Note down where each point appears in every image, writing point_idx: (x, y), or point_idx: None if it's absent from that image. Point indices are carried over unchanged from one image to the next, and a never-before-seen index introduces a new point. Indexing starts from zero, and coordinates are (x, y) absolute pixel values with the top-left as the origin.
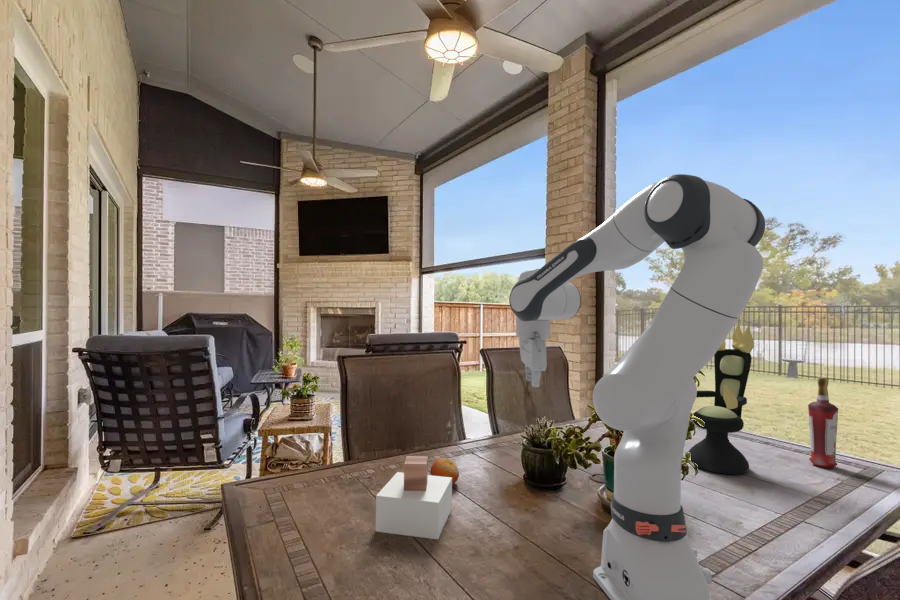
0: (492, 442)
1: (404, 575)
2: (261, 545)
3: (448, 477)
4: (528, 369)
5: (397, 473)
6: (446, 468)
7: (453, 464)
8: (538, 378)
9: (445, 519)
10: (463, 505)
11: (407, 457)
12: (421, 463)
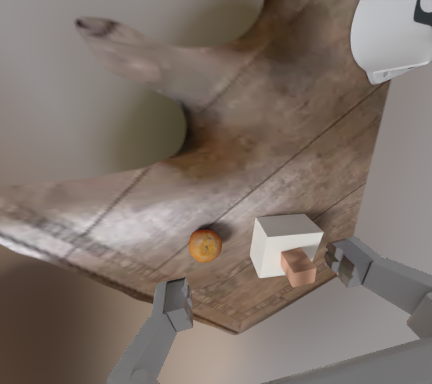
0: (8, 220)
1: (343, 219)
2: (306, 287)
3: (268, 240)
4: (154, 361)
5: (262, 276)
6: (218, 247)
7: (203, 244)
8: (400, 270)
9: (281, 217)
10: (246, 210)
11: (297, 285)
12: (314, 271)
